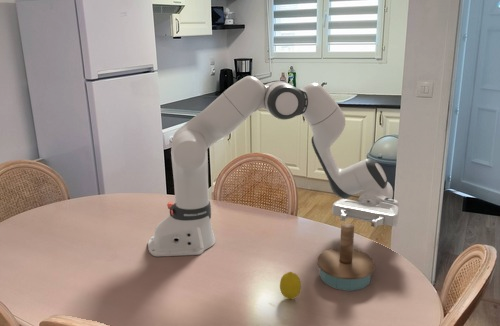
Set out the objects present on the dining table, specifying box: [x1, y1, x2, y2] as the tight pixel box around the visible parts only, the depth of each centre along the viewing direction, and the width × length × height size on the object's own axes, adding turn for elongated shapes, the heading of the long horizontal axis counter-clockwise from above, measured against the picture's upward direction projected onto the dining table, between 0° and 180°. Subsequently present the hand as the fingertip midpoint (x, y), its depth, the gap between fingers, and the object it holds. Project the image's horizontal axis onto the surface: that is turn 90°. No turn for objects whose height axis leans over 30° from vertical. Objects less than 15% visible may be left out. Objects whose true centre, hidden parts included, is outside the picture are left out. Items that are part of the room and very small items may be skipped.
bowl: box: [319, 268, 372, 292], centre depth 127 cm, size 14×14×4 cm
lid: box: [316, 222, 375, 279], centre depth 124 cm, size 16×16×12 cm
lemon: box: [279, 271, 302, 300], centre depth 116 cm, size 6×6×8 cm
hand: (357, 221), depth 131 cm, fingers open, 8 cm apart
